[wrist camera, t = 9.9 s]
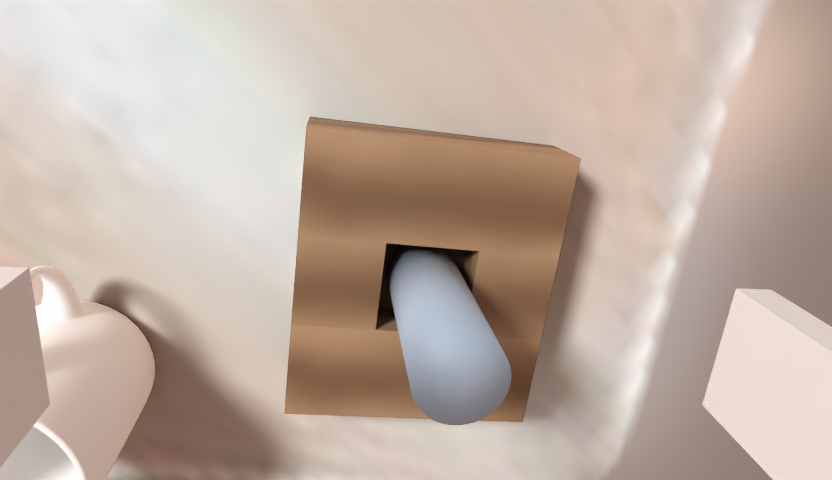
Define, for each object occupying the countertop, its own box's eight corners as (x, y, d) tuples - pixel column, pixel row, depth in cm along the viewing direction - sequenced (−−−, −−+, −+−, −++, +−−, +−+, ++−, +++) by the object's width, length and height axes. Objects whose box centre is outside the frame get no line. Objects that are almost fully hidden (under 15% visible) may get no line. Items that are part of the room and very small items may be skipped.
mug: (159, 243, 33) (81, 332, 22) (159, 425, 36) (92, 571, 26) (-10, 230, 31) (-175, 318, 21) (7, 420, 35) (-126, 574, 25)
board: (309, 116, 31) (306, 126, 28) (553, 145, 34) (580, 158, 30) (289, 375, 36) (284, 413, 32) (504, 385, 39) (522, 421, 35)
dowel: (390, 235, 33) (417, 331, 22) (458, 241, 34) (519, 337, 22) (382, 300, 34) (404, 423, 23) (448, 304, 35) (501, 426, 24)
